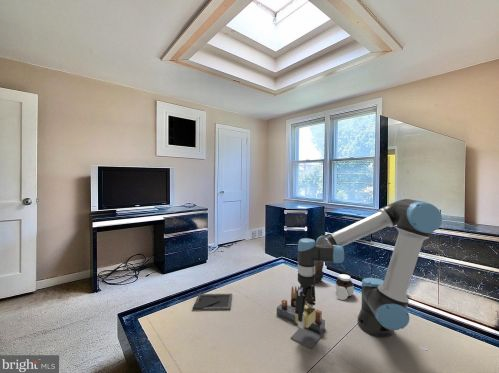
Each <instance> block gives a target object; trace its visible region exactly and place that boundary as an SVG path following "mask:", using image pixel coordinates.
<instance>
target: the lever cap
mask: <svg viewBox="0 0 499 373" xmlns="http://www.w3.org/2000/svg"><path fill="white" fill-rule="evenodd" d="M316 310H317V309H316V308H314V307H313V308H312V307H309V306H307V305H305V307H304V312H303V313H304V327H306V328H308V327H309V326H310V325H311V324H312V323H313V322H314V321H315V318H316ZM295 323H297V324H296V325H298V314H296V313H295ZM295 323H294V324H295Z"/></svg>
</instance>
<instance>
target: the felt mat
mask: <svg viewBox="0 0 499 373" xmlns="http://www.w3.org/2000/svg"><path fill="white" fill-rule="evenodd" d="M321 338H322V335H321V334H320V335H319V334H317V333H315V332H313V331H310V330H308V329H306V328H304V329H302V328H300V327H298V329H297V330H296V331H295V332H294V333H293V334H292V335H291V336H290V340H292V341H294V342H296V343H298V344H300V345H302V346H304V347H305V348H308V350H309V349H310V350H312V349H313V348H314V347H315V345H316V344H317V343H318V341H319V340H320V339H321Z"/></svg>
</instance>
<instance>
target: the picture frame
mask: <svg viewBox="0 0 499 373" xmlns="http://www.w3.org/2000/svg"><path fill="white" fill-rule="evenodd" d="M232 300H233V293H198V294H197V297H196V299H195V302H194V304H193V306H192V311H193V310H201V311H231V308H232Z"/></svg>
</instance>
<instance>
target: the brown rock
mask: <svg viewBox="0 0 499 373" xmlns="http://www.w3.org/2000/svg"><path fill="white" fill-rule="evenodd" d="M324 263H325V262H315V274H314V275H315V285H316V284H318V283H322V282H323V281H322V280H323V278H324V272H323V269H324V265H325V264H324Z"/></svg>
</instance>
